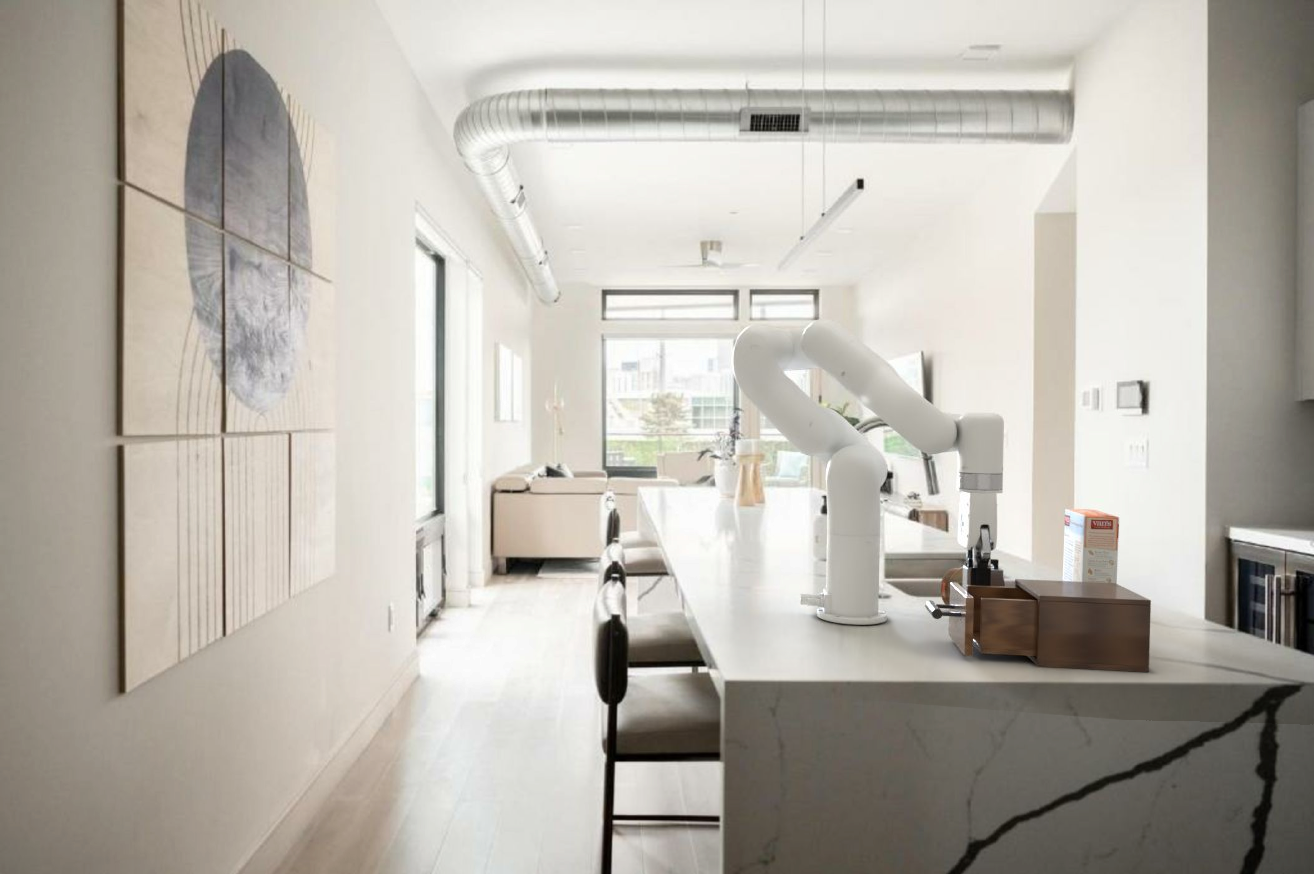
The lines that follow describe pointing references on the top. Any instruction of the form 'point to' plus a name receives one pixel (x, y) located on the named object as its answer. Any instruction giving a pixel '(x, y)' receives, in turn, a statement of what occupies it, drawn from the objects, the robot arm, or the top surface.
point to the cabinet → (1090, 625)
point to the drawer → (990, 619)
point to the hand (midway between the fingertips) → (977, 587)
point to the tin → (954, 577)
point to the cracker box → (1090, 546)
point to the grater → (995, 573)
